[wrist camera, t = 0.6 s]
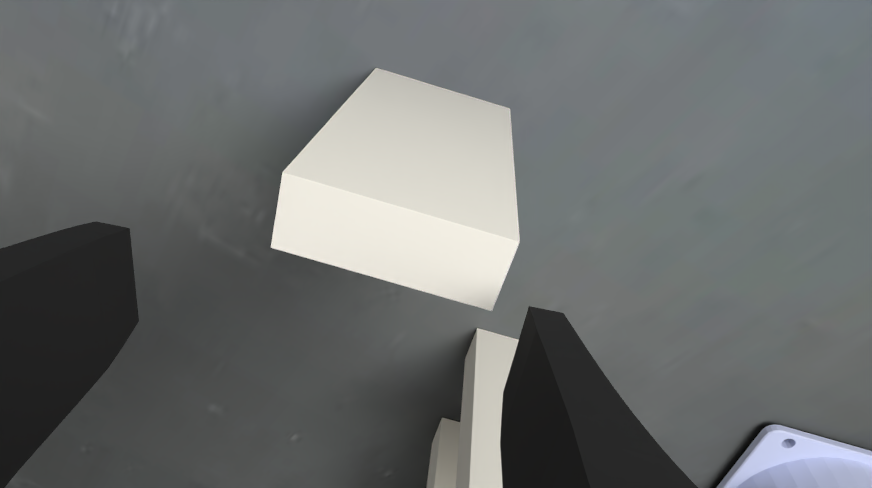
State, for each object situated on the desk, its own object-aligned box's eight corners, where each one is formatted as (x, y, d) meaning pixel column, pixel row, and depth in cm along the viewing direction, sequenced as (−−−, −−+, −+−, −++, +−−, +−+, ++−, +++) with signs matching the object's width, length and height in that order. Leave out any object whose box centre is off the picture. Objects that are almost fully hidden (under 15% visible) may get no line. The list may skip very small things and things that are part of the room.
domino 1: (509, 108, 18) (519, 241, 10) (493, 154, 19) (491, 310, 11) (375, 67, 18) (283, 172, 10) (365, 115, 19) (271, 247, 11)
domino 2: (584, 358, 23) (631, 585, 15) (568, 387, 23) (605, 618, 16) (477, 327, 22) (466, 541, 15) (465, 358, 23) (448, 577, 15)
